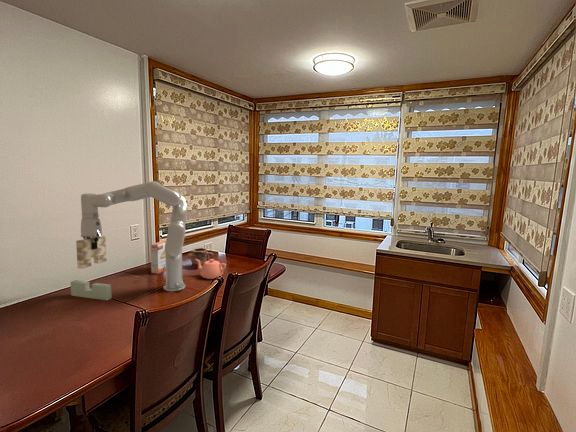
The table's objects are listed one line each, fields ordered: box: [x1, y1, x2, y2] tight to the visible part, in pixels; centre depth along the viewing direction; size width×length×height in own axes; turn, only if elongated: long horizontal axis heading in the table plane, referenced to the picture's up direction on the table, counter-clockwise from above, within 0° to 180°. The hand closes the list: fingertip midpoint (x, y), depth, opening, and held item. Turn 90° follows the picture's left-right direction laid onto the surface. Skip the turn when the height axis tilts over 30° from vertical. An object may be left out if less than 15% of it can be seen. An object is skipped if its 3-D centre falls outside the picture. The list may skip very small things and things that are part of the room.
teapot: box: [196, 258, 227, 280], centre depth 208 cm, size 22×15×12 cm
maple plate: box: [75, 234, 107, 270], centre depth 169 cm, size 16×3×15 cm, turn 167°
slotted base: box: [70, 279, 113, 301], centre depth 169 cm, size 24×3×8 cm, turn 78°
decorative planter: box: [187, 247, 215, 270], centre depth 228 cm, size 20×12×14 cm, turn 92°
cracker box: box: [150, 240, 166, 275], centre depth 216 cm, size 14×6×21 cm, turn 168°
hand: (91, 248), depth 168 cm, fingers closed on maple plate, 3 cm apart
